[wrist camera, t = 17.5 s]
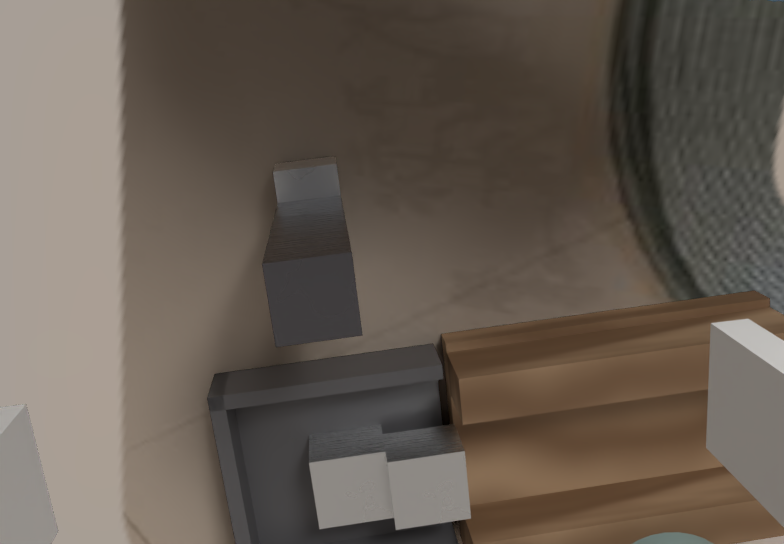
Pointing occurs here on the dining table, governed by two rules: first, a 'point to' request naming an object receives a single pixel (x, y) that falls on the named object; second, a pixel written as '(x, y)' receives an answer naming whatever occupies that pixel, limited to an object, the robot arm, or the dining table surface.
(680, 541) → the cup
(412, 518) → the block
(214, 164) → the dining table surface
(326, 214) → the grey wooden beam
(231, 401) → the tray
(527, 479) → the slot board
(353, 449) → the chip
